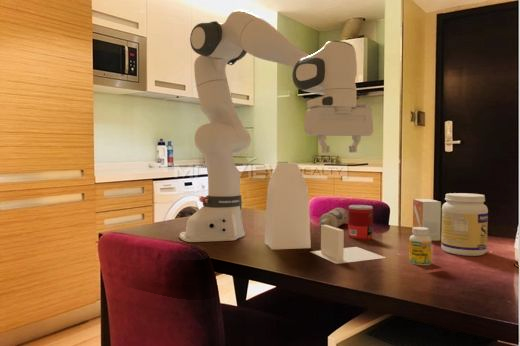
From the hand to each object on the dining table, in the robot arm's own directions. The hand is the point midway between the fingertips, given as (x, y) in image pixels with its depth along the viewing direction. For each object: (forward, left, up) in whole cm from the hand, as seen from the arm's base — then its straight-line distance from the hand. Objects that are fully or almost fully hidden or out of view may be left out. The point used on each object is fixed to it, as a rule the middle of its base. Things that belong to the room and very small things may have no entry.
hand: (339, 152), depth 115 cm
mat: (+3, 0, -29) cm, 29 cm away
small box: (+42, +11, -29) cm, 52 cm away
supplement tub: (+38, -8, -29) cm, 49 cm away
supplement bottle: (+16, -14, -29) cm, 36 cm away
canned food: (+21, +19, -29) cm, 41 cm away
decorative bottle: (+22, +40, -30) cm, 54 cm away
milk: (-7, +18, -29) cm, 35 cm away
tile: (-2, 0, -28) cm, 29 cm away
